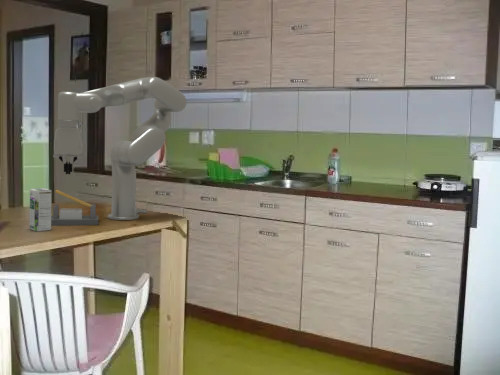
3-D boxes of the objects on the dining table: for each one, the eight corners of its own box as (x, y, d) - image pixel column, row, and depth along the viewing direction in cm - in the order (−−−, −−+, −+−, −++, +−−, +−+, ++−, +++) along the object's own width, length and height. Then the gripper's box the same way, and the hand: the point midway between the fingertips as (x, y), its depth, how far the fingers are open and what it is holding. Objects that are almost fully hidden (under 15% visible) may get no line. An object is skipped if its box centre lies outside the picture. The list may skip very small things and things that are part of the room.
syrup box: (28, 229, 190) (28, 188, 189) (45, 227, 194) (45, 187, 193) (35, 231, 186) (35, 190, 185) (52, 230, 190) (52, 189, 189)
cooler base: (98, 220, 213) (98, 202, 212) (98, 225, 203) (98, 206, 202) (50, 220, 208) (50, 202, 207) (47, 225, 198) (47, 206, 197)
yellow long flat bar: (93, 208, 208) (95, 205, 208) (93, 209, 205) (95, 207, 205) (55, 191, 204) (56, 188, 204) (54, 192, 201) (56, 189, 201)
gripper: (89, 126, 206) (88, 173, 208) (48, 124, 202) (47, 172, 204) (89, 126, 199) (88, 175, 201) (46, 124, 195) (46, 174, 197)
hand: (68, 173), depth 203 cm, fingers closed
